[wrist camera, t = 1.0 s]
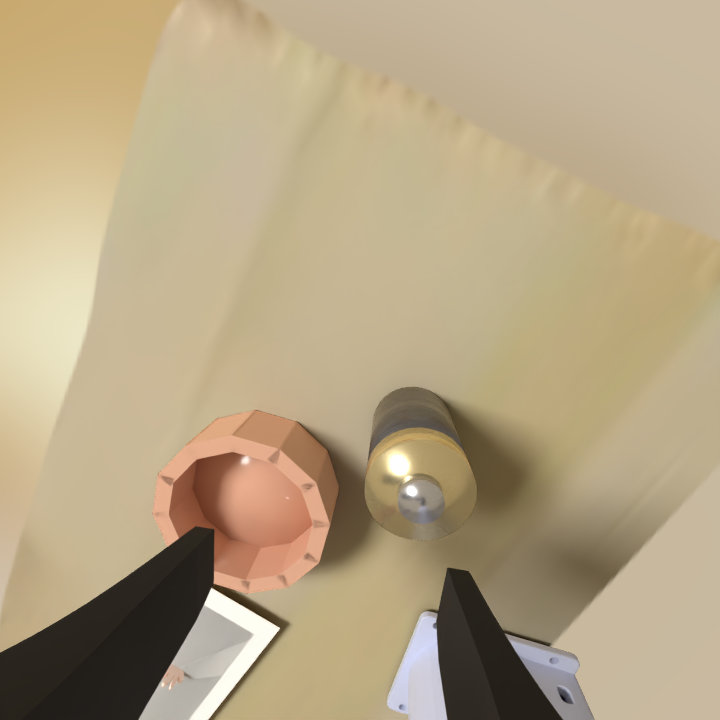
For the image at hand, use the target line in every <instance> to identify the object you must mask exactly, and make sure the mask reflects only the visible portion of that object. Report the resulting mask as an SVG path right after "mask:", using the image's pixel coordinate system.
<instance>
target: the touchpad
mask: <svg viewBox="0 0 720 720" xmlns="http://www.w3.org/2000/svg"><path fill="white" fill-rule="evenodd" d="M279 629H280V628H279V627H278V626H276V625H274V624H273V623H271V622H269V621H267V620H266V619H264V618H262V617H261V616H259V615H257V614H256V613H254V612H252V611H250V610H249V609H247V608H245V607H244V606H242V605H240V604H238V603H237V602H235V601H233V600H232V599H230V598H228V597H227V596H225V595H223V594H221V593H220V592H218V591H216V590H215V589H213V588H211V590H210V592H209V595H208V597H207V599H206V601H205V604H204V606H203V608H202V610H201V612H200V614H199V616H198V618H197V620H196V622H195V624H194V625H193V627H192V629H191V631H190V632H189V634H188V636H187V638H186V639H185V641H184V643H183V644H182V646H181V648H180V650H179V651H178V653H177V655H176V656H175V658H174V660H173V661H172V663H171V665H170V666H169V668H168V670H167V672H166V673H165V675H164V677H163V678H162V680H161V682H160V683H159V685H158V687H157V689H156V690H155V692H154V694H153V695H152V697H151V699H150V700H149V702H148V704H147V705H146V707H145V709H144V711H143V713H142V714H141V716H140V718H139V720H208V719H209V718H210V717H211V715H212V714H213V713H214V712H215V710H216V709H217V708H218V706H219V705H220V704H221V703H222V701H223V700H224V699H225V698H226V696H227V695H228V694H229V693H230V691H231V690H232V689H233V688H234V686H235V685H236V684H237V682H238V681H239V680H240V679H241V677H242V676H243V675H244V674H245V672H246V671H247V670H248V669H249V667H250V666H251V665H252V663H253V662H254V661H255V660H256V658H257V657H258V656H259V655H260V653H261V652H262V651H263V650H264V648H265V647H266V646H267V644H268V643H269V642H270V641H271V639H272V638H273V637H274V636H275V634H276V633H277V632H278V631H279Z"/></svg>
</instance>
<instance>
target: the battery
mask: <svg viewBox="0 0 720 720" xmlns="http://www.w3.org/2000/svg"><path fill="white" fill-rule="evenodd" d="M364 492H365V500H366V504H367V506H368V509H369V511H370V513H371V514H372V516H373V517H374V519H375V520H376V521H377V522H378V523H379V524H380V525H381V526H382V527H384V528H385V529H386V530H388V531H389V532H391V533H393V534H395V535H397V536H400V537H403V538H406V539H411V540H433V539H438V538H441V537H444V536H447V535H449V534H451V533H453V532H454V531H456V530H457V529H459V528H460V527H461V526H462V525H463V524H464V523H465V522H466V521H467V520H468V518H469V517H470V516H471V514H472V512H473V510H474V507H475V504H476V500H477V485H476V481H475V477H474V475H473V472H472V469H471V467H470V464H469V462H468V459H467V457H466V454H465V451H464V449H463V446H462V444H461V441H460V438H459V436H458V433H457V431H456V428H455V426H454V423H453V420H452V418H451V415H450V413H449V410H448V408H447V406H446V405H445V403H444V402H443V401H442V399H441V398H440V397H438V396H437V395H436V394H434V393H433V392H431V391H429V390H426V389H423V388H419V387H406V388H401V389H398V390H395V391H393V392H391V393H390V394H388V395H387V396H386V397H385V398H384V399H383V400H382V401H381V402H380V403H379V405H378V407H377V408H376V411H375V414H374V419H373V427H372V434H371V442H370V449H369V457H368V464H367V472H366V479H365V489H364Z"/></svg>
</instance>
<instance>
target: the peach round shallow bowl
mask: <svg viewBox="0 0 720 720" xmlns="http://www.w3.org/2000/svg"><path fill="white" fill-rule="evenodd" d="M338 492H339V485H338V482H337V479H336V476H335V473H334V469H333V466H332V463H331V460H330V457H329V454H328V450H326V449H325V448H324V447H323V446H322V445H321V444H320V443H319V442H318V441H317V440H316V439H314V438H313V437H312V436H311V435H310V434H309V433H308V432H307V431H306V430H305V429H304V428H303V427H302V426H301V425H300V424H298V422H295V421H292V420H288V419H285V418H281V417H278V416H274V415H271V414H267V413H264V412H260V411H257V410H254V411H250V412H245V413H241V414H237V415H232V416H228V417H224V418H219V419H216V420H214V421H213V422H212V423H211V424H210V425H209V426H207V427H206V428H205V429H204V430H203V431H202V432H200V433H199V434H198V435H197V436H196V437H194V438H193V439H192V440H191V441H190V442H189V443H187V444H186V445H185V447H184V448H183V449H182V450H181V451H180V452H179V453H178V454H177V455H176V456H175V457H174V458H173V459H172V460H171V461H170V463H169V464H168V465H167V466H166V467H165V468H164V469H163V470H162V471H161V472H159V473H158V478H157V485H156V493H155V501H154V509H153V515H154V518H155V520H156V522H157V524H158V527H159V529H160V531H161V533H162V535H163V538H164V540H165V542H166V544H167V546H169V545H171V544H172V543H173V542H175V541H176V540H177V539H179V538H180V537H181V536H183V535H184V534H185V533H187V532H188V531H190V530H191V529H192V528H194V527H195V526H198V527H204V528H210V529H214V583H213V584H217V585H220V586H223V587H227V588H230V589H234V590H237V591H240V592H244V593H247V594H248V593H253V592H260V591H267V590H273V589H280V588H288V587H289V586H291V585H292V584H293V583H294V582H296V581H297V580H298V579H299V578H301V577H302V576H303V575H304V574H306V573H307V572H308V571H309V570H311V569H312V568H313V567H315V566H316V565H317V564H319V563H320V559H321V555H322V551H323V547H324V544H325V541H326V537H327V534H328V530H329V527H330V525H331V521H332V517H333V513H334V509H335V505H336V501H337V496H338Z"/></svg>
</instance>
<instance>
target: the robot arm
mask: <svg viewBox="0 0 720 720" xmlns="http://www.w3.org/2000/svg"><path fill="white" fill-rule="evenodd" d="M213 583H214V529H210V528H204V527H198V526H195V527H194V528H192V529H191V530H190V531H188V532H187V533H185V534H184V535H183V536H181V537H180V538H179V539H177V540H176V541H175V542H173V543H172V544H171V545H169V546H168V547H167V548H165V549H164V550H163V551H161V552H160V553H159V554H157V555H156V556H155V557H153V558H152V559H151V560H149V561H148V562H146V563H145V564H144V565H142V566H141V567H139V568H138V569H137V570H135V571H134V572H132V573H131V574H130V575H128V576H127V577H125V578H124V579H123V580H121V581H120V582H118V583H117V584H115V585H114V586H112V587H111V588H109V589H108V590H106V591H105V592H103V593H102V594H100V595H99V596H97V597H96V598H94V599H93V600H91V601H90V602H88V603H87V604H85V605H84V606H82V607H80V608H79V609H77V610H76V611H74V612H72V613H71V614H69V615H67V616H66V617H64V618H62V619H61V620H59V621H57V622H55V623H54V624H52V625H50V626H49V627H47V628H45V629H44V630H42V631H40V632H38V633H36V634H35V635H33V636H31V637H29V638H27V639H25V640H24V641H22V642H20V643H18V644H16V645H14V646H12V647H10V648H8V649H6V650H5V651H3V652H1V653H0V720H139V718H140V716H141V714H142V713H143V711H144V709H145V707H146V705H147V704H148V702H149V700H150V699H151V697H152V695H153V694H154V692H155V690H156V689H157V687H158V685H159V683H160V682H161V680H162V678H163V677H164V675H165V673H166V672H167V670H168V668H169V666H170V665H171V663H172V661H173V660H174V658H175V656H176V655H177V653H178V651H179V650H180V648H181V646H182V644H183V643H184V641H185V639H186V638H187V636H188V634H189V632H190V631H191V629H192V627H193V625H194V624H195V622H196V620H197V618H198V616H199V614H200V612H201V610H202V608H203V606H204V604H205V601H206V599H207V597H208V595H209V592H210V590H211V588H212V586H213ZM579 666H580V664H579V661H578V659H577V657H576V656H575V655H574V654H572V653H569V652H566V651H562V650H559V649H555V648H552V647H549V646H545V645H542V644H539V643H535V642H532V641H528V640H525V639H522V638H518V637H515V636H512V635H508V634H505V633H504V632H503V630H502V628H501V627H500V625H499V623H498V622H497V620H496V618H495V617H494V615H493V613H492V612H491V610H490V608H489V606H488V605H487V603H486V601H485V599H484V598H483V596H482V594H481V592H480V590H479V589H478V587H477V585H476V583H475V581H474V579H473V578H472V576H471V574H470V573H469V571H465V570H458V569H452V568H447V573H446V578H445V582H444V587H443V592H442V596H441V601H440V606H439V610H438V614H437V613H434V612H430V611H426V612H423V613H422V614H421V615H420V617H419V620H418V622H417V625H416V627H415V630H414V632H413V635H412V637H411V640H410V642H409V645H408V647H407V650H406V652H405V655H404V657H403V660H402V662H401V665H400V667H399V670H398V672H397V675H396V677H395V680H394V682H393V684H392V687H391V689H390V692H389V694H388V698H387V705H388V707H389V708H390V709H392V710H395V711H398V712H401V713H405V714H408V715H409V720H594V718H593V715H592V713H591V711H590V708H589V706H588V704H587V702H586V700H585V697H584V695H583V693H582V691H581V689H580V686H579V684H578V681H577V679H576V677H575V673H576V671H577V670H578V668H579Z"/></svg>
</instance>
